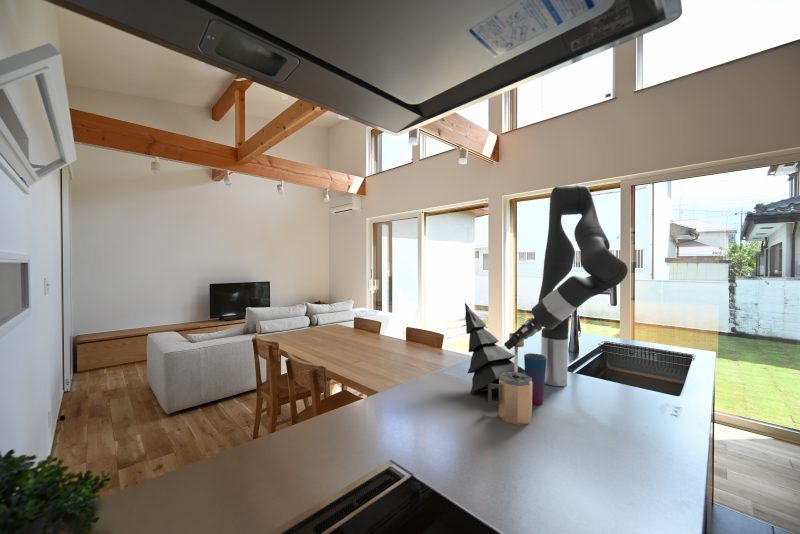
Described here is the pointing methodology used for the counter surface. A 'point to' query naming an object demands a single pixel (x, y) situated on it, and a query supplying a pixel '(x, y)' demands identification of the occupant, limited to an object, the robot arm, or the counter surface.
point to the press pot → (513, 398)
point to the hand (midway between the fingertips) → (509, 345)
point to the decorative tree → (485, 355)
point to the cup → (536, 375)
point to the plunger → (516, 354)
